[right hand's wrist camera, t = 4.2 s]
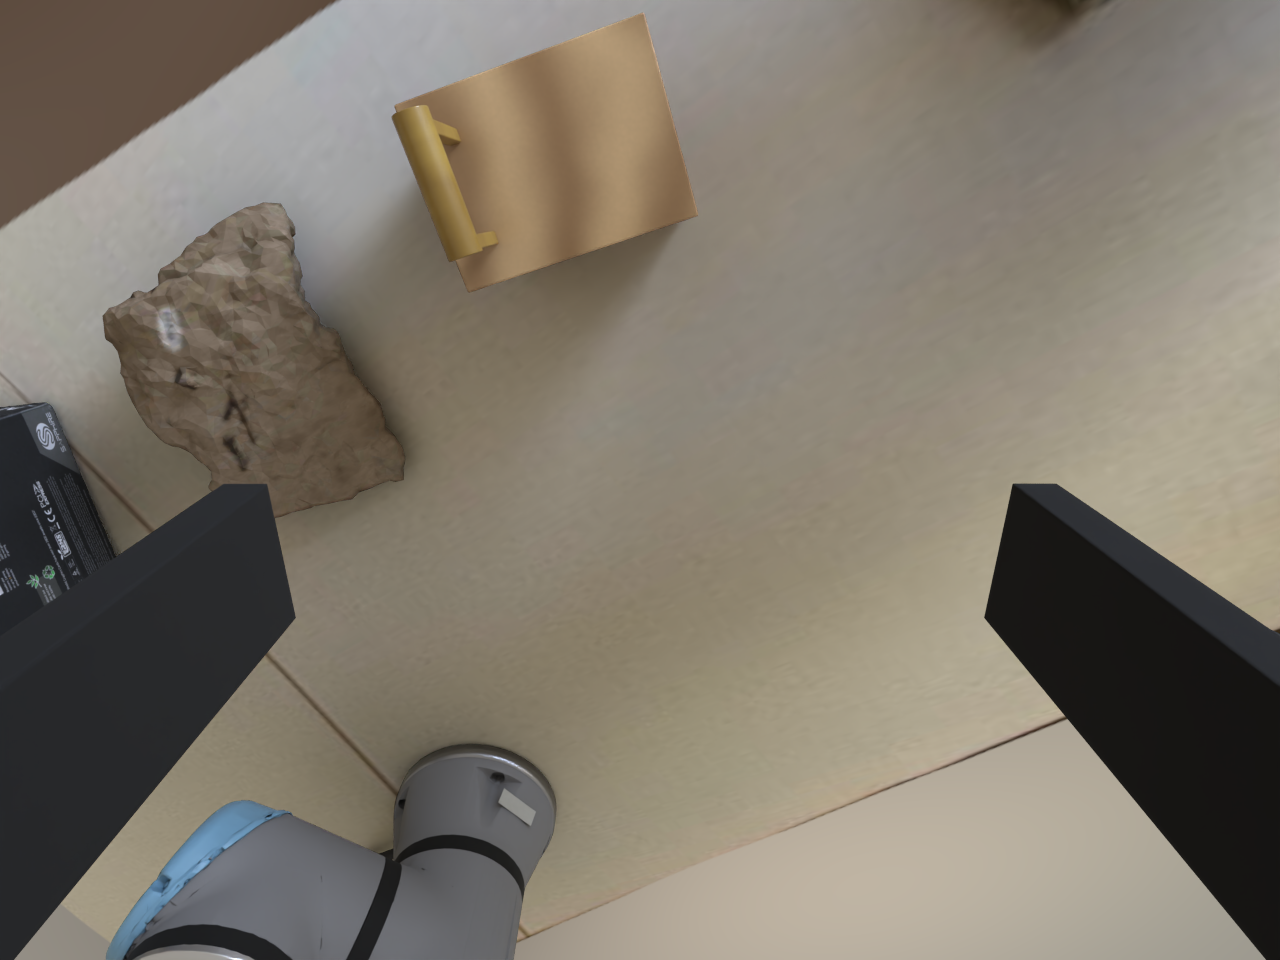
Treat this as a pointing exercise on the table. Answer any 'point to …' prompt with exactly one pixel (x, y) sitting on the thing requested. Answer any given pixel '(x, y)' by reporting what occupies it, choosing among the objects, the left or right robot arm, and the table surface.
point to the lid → (549, 155)
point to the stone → (251, 370)
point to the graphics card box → (42, 515)
